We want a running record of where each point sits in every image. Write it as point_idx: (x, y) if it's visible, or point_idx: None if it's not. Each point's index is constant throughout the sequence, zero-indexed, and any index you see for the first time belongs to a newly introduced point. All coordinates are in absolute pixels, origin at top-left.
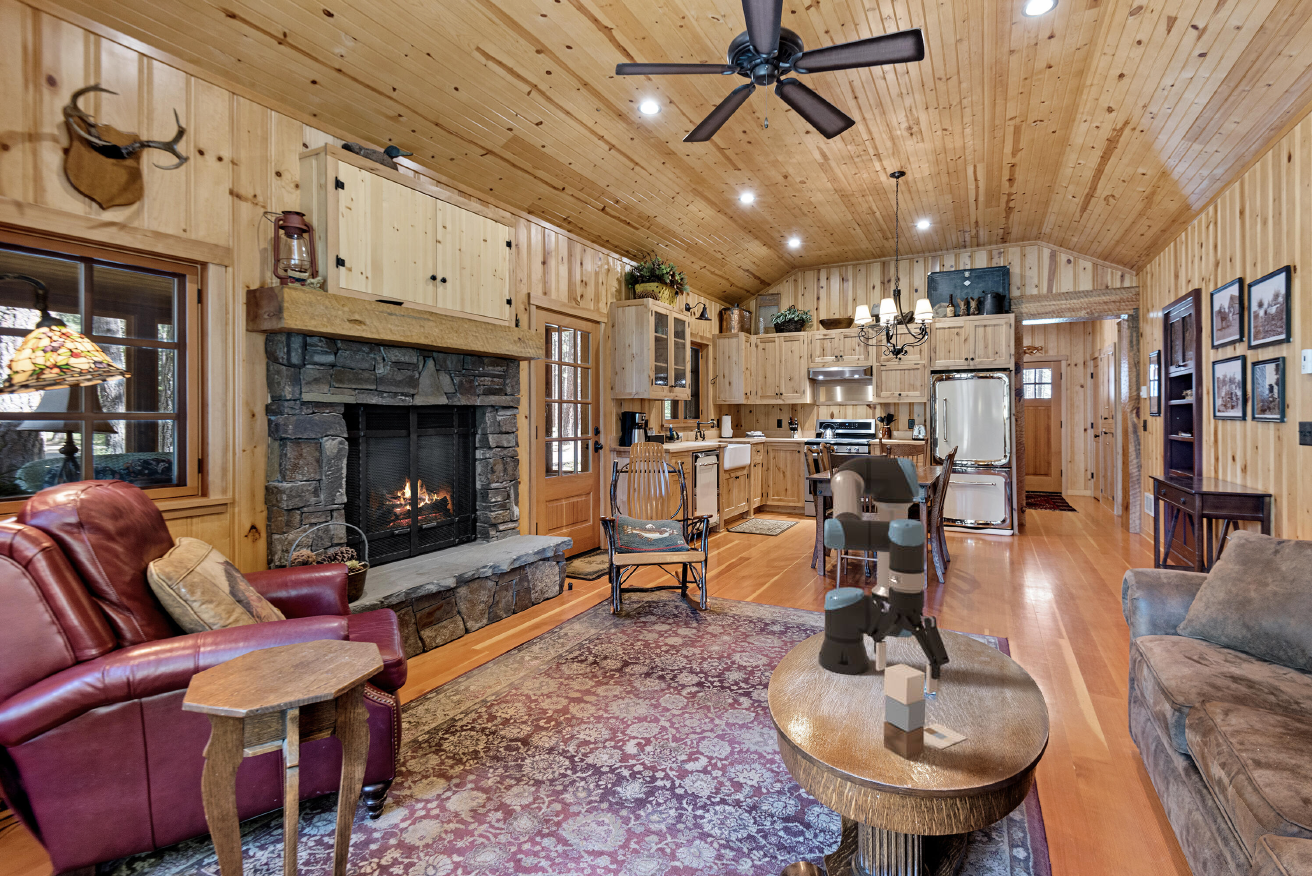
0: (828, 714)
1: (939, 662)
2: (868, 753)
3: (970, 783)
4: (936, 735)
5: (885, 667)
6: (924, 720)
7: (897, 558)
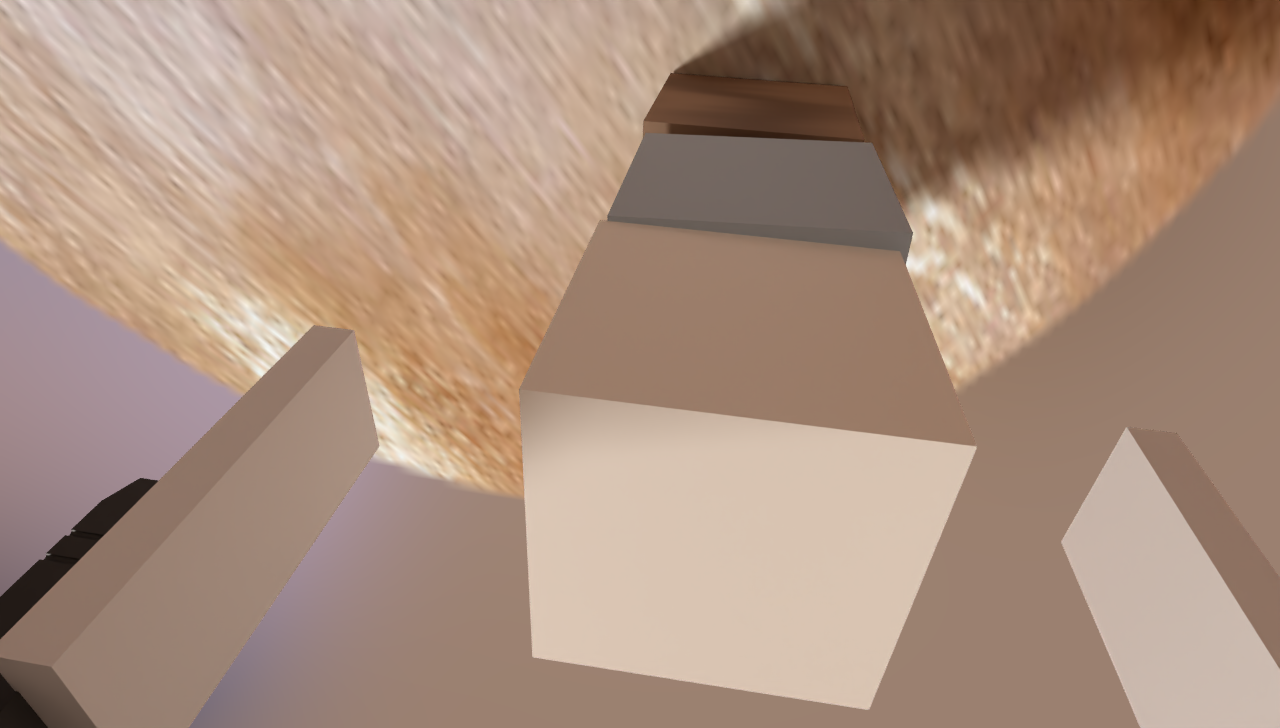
0: (237, 172)
1: None
2: None
3: (1211, 163)
4: None
5: (349, 352)
6: (876, 159)
7: None
